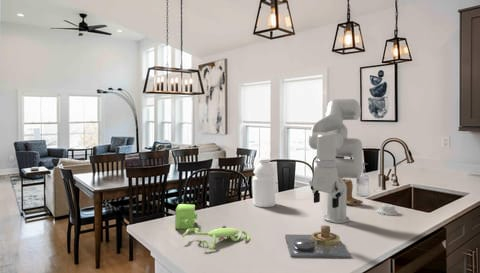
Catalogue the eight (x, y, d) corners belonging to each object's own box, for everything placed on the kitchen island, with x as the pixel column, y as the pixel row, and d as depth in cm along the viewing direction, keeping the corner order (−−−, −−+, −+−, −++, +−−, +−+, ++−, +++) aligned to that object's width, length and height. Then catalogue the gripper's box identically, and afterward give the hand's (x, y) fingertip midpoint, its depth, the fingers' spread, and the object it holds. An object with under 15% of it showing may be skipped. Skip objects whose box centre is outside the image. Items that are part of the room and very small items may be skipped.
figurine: (178, 241, 141) (178, 228, 140) (230, 229, 156) (230, 217, 156) (199, 256, 126) (199, 241, 125) (254, 241, 141) (254, 228, 141)
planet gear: (314, 236, 141) (314, 223, 140) (332, 236, 140) (332, 224, 140) (318, 243, 133) (318, 229, 133) (336, 243, 133) (336, 229, 133)
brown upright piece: (331, 201, 208) (331, 178, 207) (346, 199, 212) (346, 176, 211) (347, 207, 194) (347, 182, 193) (363, 205, 198) (363, 180, 197)
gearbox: (195, 233, 152) (196, 212, 151) (173, 232, 151) (174, 212, 150) (198, 220, 169) (198, 202, 169) (178, 220, 169) (179, 201, 168)
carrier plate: (285, 237, 143) (285, 229, 143) (336, 238, 143) (336, 230, 143) (290, 256, 124) (290, 247, 123) (349, 257, 123) (350, 248, 123)
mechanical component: (401, 215, 177) (391, 210, 187) (401, 207, 177) (391, 203, 187) (382, 216, 177) (374, 211, 187) (382, 207, 176) (374, 203, 186)
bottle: (263, 200, 210) (263, 157, 209) (280, 204, 200) (280, 158, 199) (248, 204, 201) (247, 158, 200) (264, 208, 191) (264, 160, 189)
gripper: (304, 162, 140) (304, 201, 141) (337, 167, 126) (337, 211, 127) (315, 160, 145) (315, 199, 146) (349, 165, 131) (349, 207, 132)
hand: (325, 204), depth 137 cm, fingers open, 9 cm apart
